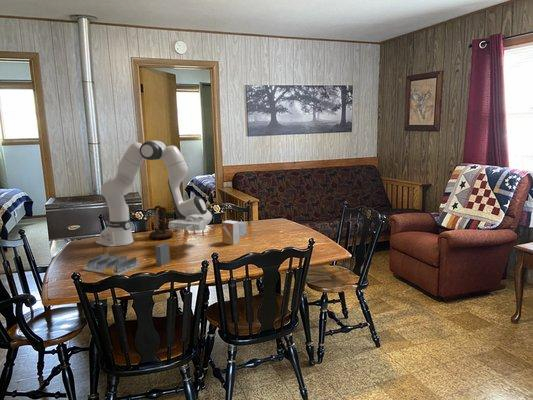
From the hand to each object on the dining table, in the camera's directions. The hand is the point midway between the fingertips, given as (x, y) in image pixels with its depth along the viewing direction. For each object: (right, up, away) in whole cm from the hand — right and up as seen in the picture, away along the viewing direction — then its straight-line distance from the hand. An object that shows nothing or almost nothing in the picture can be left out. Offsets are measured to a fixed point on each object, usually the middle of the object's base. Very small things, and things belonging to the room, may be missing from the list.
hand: (177, 228), depth 210 cm
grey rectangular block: (-5, -17, -9) cm, 20 cm away
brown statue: (-20, -9, +41) cm, 46 cm away
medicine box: (+30, -8, +42) cm, 53 cm away
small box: (+26, -11, +27) cm, 39 cm away
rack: (-29, -18, -14) cm, 37 cm away
